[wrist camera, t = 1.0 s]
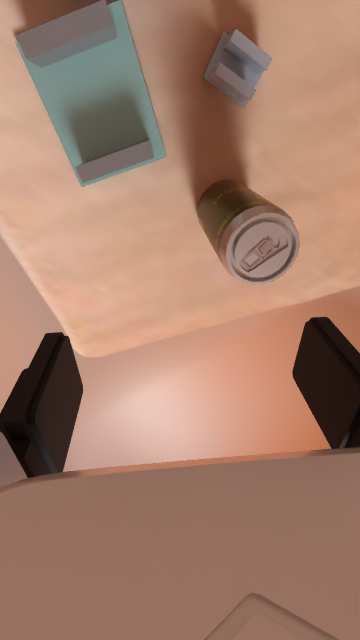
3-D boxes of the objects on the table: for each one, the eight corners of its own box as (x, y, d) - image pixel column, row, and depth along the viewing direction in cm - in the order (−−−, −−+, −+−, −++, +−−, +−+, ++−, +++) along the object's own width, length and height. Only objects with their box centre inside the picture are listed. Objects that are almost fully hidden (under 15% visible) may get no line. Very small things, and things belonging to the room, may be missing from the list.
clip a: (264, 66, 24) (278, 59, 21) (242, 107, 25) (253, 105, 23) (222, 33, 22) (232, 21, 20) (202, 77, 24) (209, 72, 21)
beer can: (219, 245, 32) (254, 301, 22) (185, 208, 29) (206, 252, 19) (260, 208, 30) (318, 250, 20) (227, 165, 27) (274, 189, 17)
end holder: (121, 2, 21) (117, -21, 18) (165, 156, 26) (168, 161, 23) (18, 44, 22) (-5, 29, 18) (82, 185, 27) (74, 194, 24)
